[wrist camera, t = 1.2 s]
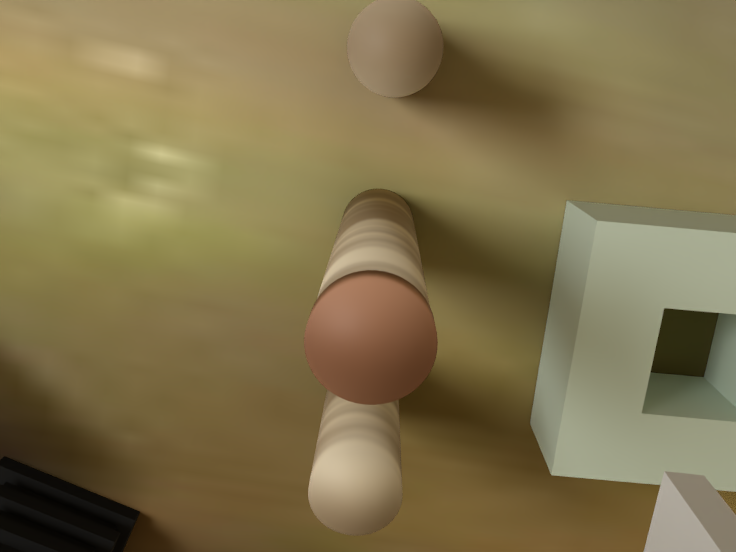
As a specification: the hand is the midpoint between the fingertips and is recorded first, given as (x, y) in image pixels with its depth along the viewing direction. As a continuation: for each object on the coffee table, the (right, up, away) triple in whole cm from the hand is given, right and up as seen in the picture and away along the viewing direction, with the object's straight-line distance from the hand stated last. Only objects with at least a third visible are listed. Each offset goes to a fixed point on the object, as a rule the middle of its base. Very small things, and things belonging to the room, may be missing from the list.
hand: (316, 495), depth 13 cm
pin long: (+2, +7, +21) cm, 22 cm away
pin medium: (+1, -1, +23) cm, 23 cm away
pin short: (+2, +14, +19) cm, 24 cm away
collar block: (+16, +2, +22) cm, 27 cm away
